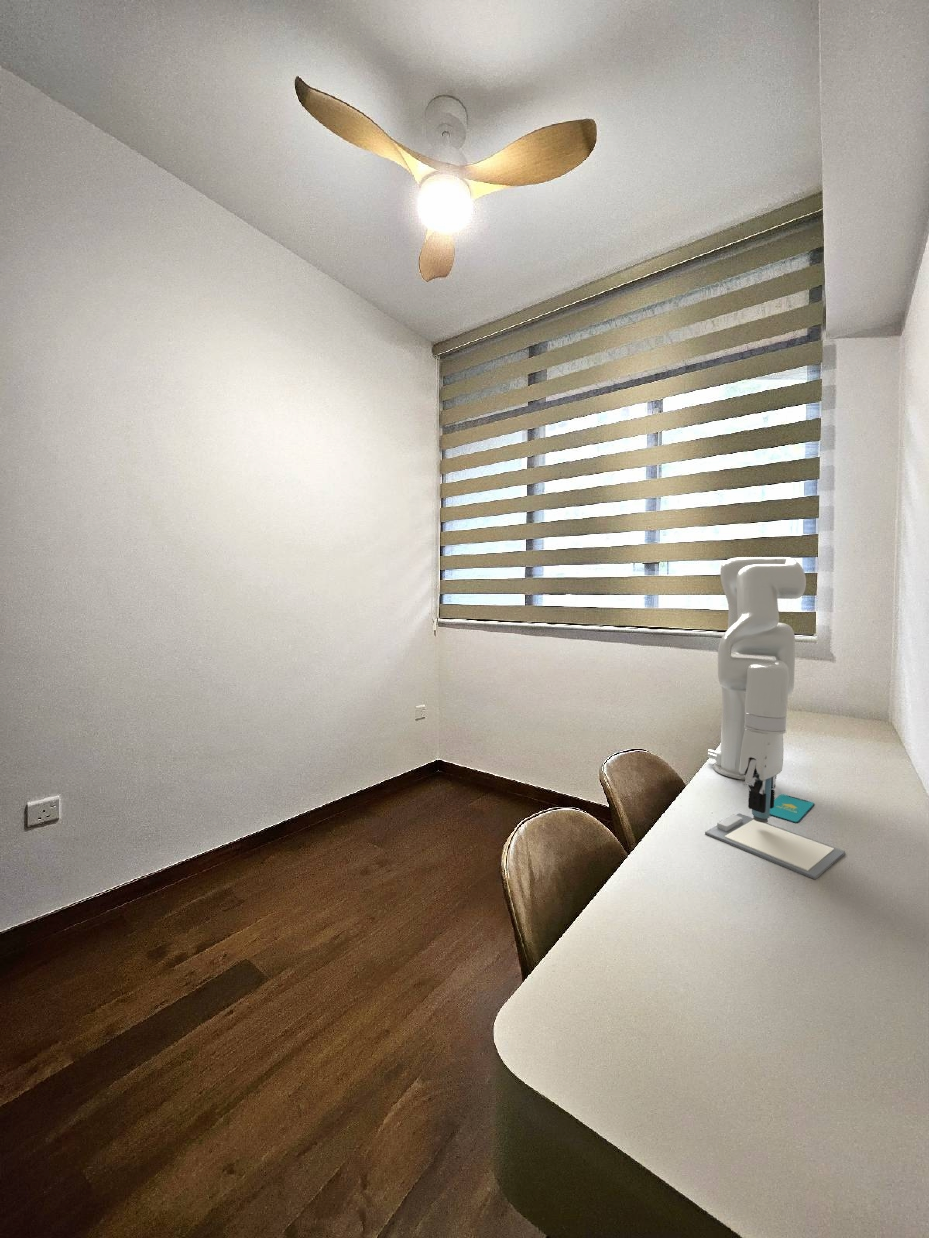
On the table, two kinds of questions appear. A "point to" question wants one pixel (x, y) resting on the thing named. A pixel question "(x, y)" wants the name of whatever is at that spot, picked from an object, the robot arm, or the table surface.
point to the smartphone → (790, 808)
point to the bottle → (764, 816)
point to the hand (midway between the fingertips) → (760, 807)
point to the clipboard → (776, 845)
